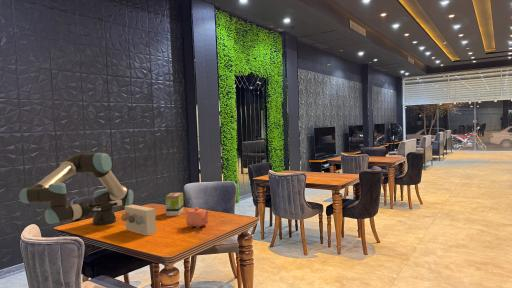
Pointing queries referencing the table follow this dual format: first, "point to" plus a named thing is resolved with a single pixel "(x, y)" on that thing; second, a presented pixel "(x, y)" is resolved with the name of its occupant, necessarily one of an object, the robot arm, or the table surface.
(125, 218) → the terracotta button
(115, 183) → the robot arm
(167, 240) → the table surface
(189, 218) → the teapot
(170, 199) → the tea box
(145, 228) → the button panel
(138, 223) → the dark grey button
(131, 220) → the grey button
